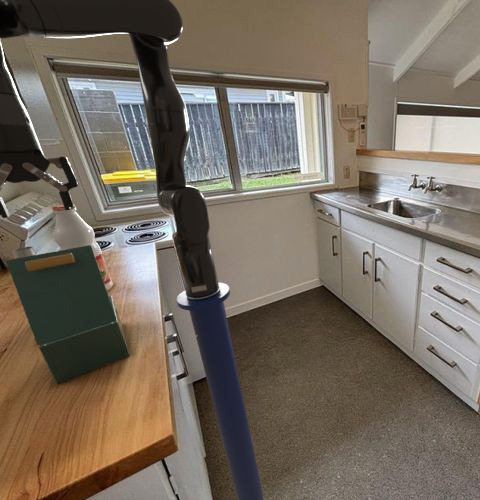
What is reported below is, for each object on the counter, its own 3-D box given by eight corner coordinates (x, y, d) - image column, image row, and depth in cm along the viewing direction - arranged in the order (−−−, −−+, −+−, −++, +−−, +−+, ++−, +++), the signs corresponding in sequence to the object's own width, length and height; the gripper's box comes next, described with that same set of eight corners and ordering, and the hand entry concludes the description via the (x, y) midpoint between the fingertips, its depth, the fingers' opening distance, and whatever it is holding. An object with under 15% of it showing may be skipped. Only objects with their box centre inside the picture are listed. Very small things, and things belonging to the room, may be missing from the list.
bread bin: (60, 345, 66) (45, 313, 63) (122, 325, 73) (111, 295, 70) (57, 384, 55) (39, 347, 52) (129, 355, 63) (117, 322, 60)
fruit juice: (118, 281, 98) (90, 201, 88) (106, 294, 89) (74, 207, 80) (84, 286, 95) (52, 203, 85) (69, 299, 87) (31, 210, 77)
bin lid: (6, 260, 51) (-4, 258, 47) (91, 245, 58) (88, 242, 54) (38, 345, 52) (31, 350, 48) (116, 320, 60) (116, 322, 55)
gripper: (58, 125, 57) (86, 205, 63) (-58, 123, 48) (-13, 216, 54) (55, 123, 52) (86, 210, 57) (-75, 120, 43) (-23, 223, 49)
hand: (38, 213), depth 56 cm, fingers open, 8 cm apart
